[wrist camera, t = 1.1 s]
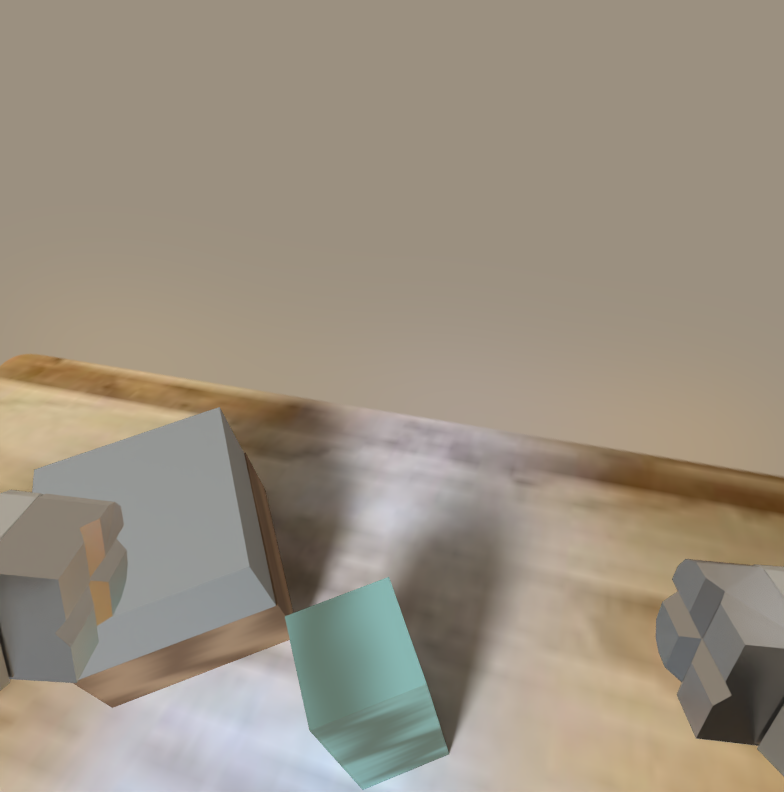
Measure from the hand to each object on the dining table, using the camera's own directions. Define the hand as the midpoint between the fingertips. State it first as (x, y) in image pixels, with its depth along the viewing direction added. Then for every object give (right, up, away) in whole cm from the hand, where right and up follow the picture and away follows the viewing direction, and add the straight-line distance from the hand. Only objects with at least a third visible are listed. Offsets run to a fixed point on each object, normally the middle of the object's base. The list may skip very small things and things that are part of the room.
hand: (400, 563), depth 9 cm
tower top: (-14, -8, +31) cm, 35 cm away
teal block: (0, -16, +27) cm, 31 cm away
